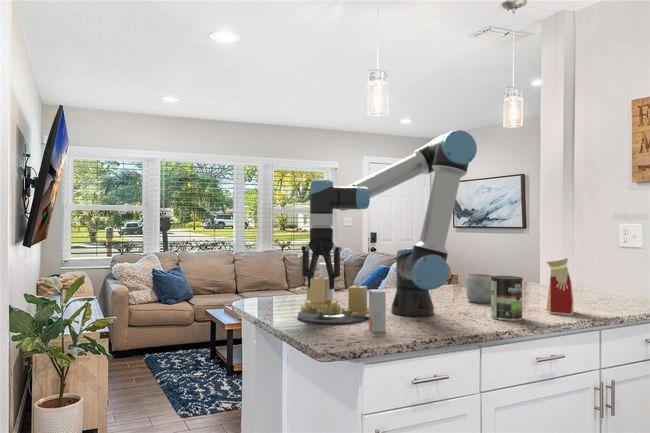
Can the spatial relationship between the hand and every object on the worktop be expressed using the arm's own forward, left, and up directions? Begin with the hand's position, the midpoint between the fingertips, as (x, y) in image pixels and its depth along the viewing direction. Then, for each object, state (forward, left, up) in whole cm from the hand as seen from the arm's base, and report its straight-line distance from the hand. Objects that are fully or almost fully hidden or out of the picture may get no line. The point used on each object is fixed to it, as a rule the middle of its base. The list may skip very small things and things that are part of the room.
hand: (321, 298), depth 169 cm
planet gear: (0, 0, -2) cm, 2 cm away
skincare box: (-20, +3, -8) cm, 22 cm away
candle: (+18, -47, -8) cm, 51 cm away
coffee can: (-55, -33, -8) cm, 65 cm away
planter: (-43, -66, -8) cm, 79 cm away
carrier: (0, -9, -8) cm, 12 cm away
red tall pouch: (-72, -52, -8) cm, 89 cm away
